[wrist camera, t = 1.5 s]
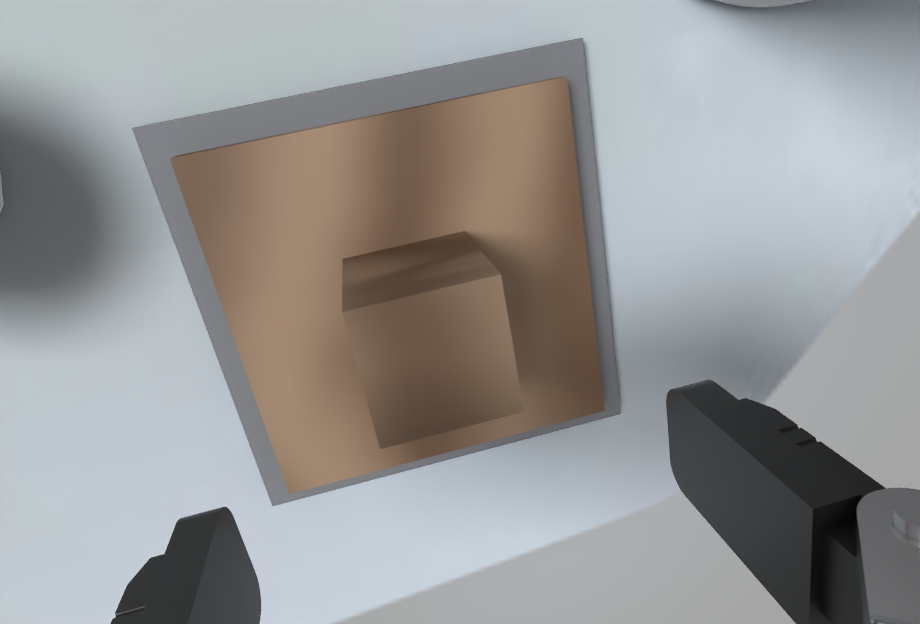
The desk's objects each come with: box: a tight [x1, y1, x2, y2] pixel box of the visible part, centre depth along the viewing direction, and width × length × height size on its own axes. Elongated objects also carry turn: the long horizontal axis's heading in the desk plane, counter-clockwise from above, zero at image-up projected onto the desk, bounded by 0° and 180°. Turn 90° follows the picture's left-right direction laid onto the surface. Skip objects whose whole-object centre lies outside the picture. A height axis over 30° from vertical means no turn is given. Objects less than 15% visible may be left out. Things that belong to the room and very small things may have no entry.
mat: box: [132, 38, 621, 506], centre depth 22 cm, size 14×14×1 cm
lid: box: [170, 77, 605, 494], centre depth 18 cm, size 12×12×6 cm
